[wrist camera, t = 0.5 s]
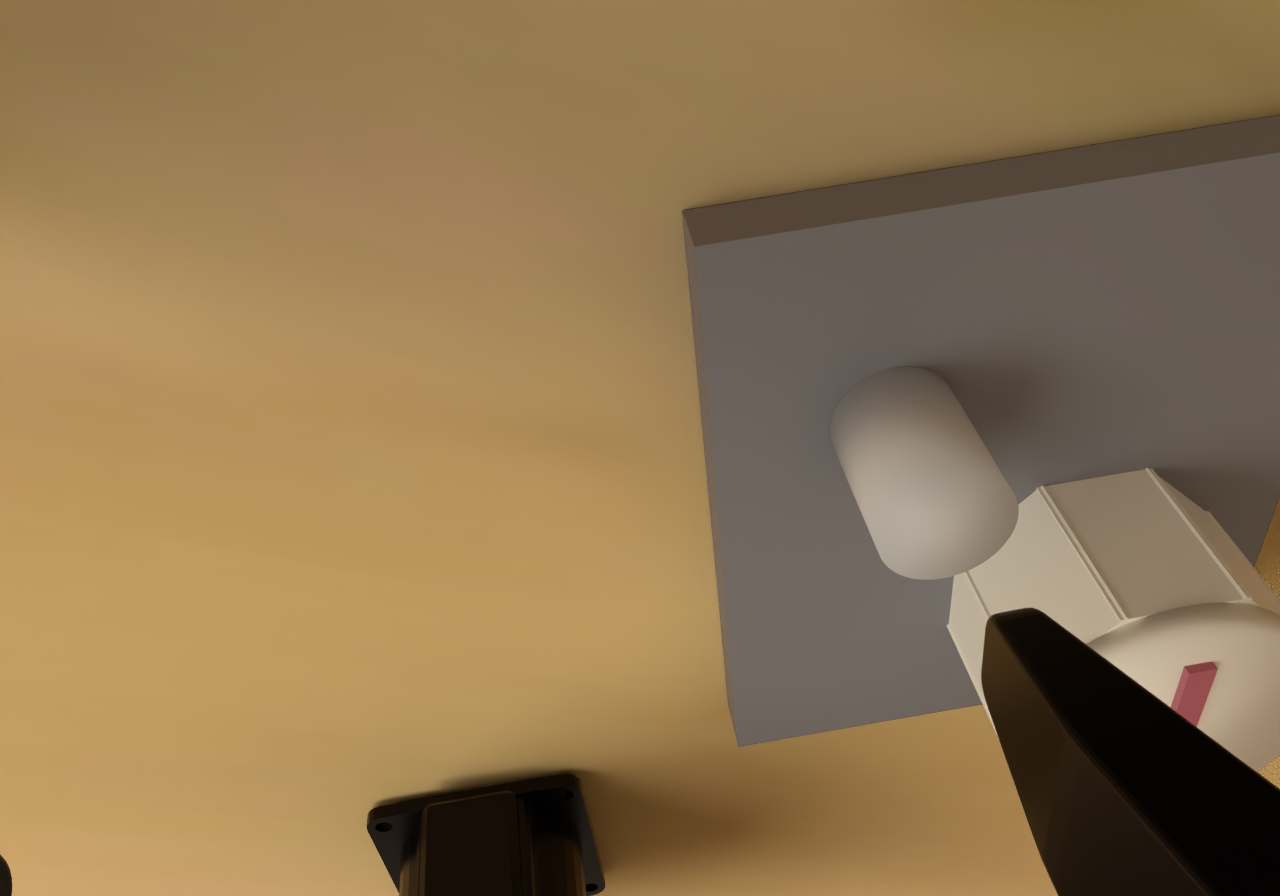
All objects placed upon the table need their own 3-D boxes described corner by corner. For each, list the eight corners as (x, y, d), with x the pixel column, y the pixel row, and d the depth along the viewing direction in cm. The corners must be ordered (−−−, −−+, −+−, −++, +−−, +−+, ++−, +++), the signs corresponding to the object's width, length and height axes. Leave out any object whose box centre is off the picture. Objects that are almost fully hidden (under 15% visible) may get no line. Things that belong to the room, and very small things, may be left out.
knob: (1173, 634, 30) (1284, 799, 26) (939, 674, 29) (1014, 847, 25) (1230, 451, 25) (1374, 614, 21) (958, 498, 25) (1051, 670, 21)
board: (1191, 623, 32) (1291, 767, 28) (728, 703, 31) (764, 860, 28) (1362, 101, 22) (1556, 213, 18) (682, 210, 21) (730, 349, 17)
